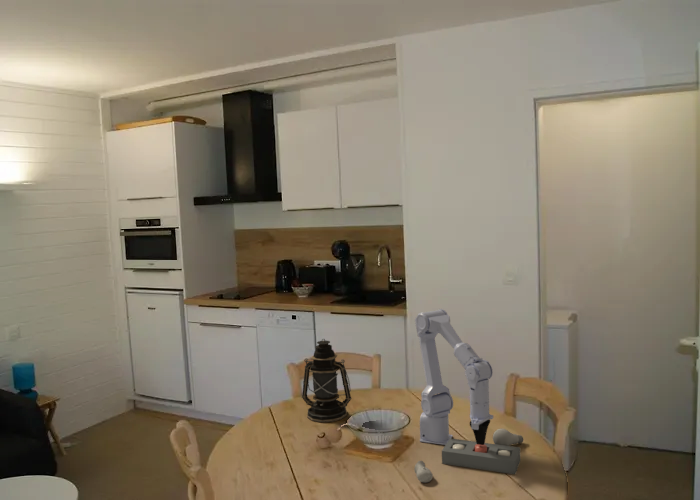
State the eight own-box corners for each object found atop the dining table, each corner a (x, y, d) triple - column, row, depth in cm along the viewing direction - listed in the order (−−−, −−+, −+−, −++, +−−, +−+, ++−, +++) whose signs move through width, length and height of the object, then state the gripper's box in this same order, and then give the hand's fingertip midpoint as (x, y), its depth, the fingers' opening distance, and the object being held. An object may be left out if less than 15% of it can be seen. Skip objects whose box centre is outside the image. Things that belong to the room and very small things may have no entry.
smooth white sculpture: (432, 488, 165) (415, 484, 165) (428, 474, 173) (411, 470, 172) (436, 474, 164) (419, 470, 164) (432, 461, 172) (415, 457, 172)
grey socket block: (442, 463, 177) (441, 450, 177) (450, 450, 186) (450, 438, 186) (515, 474, 168) (515, 461, 168) (520, 460, 177) (520, 447, 177)
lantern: (295, 421, 218) (291, 343, 215) (308, 406, 233) (304, 333, 231) (347, 424, 213) (343, 344, 210) (357, 408, 228) (353, 334, 226)
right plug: (497, 466, 173) (497, 454, 173) (499, 461, 177) (499, 449, 176) (509, 467, 172) (509, 455, 171) (511, 462, 175) (511, 451, 175)
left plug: (451, 459, 179) (451, 448, 179) (454, 454, 182) (454, 443, 182) (463, 461, 178) (462, 449, 177) (465, 456, 181) (465, 444, 181)
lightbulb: (530, 436, 186) (502, 435, 182) (525, 453, 187) (496, 451, 183) (520, 426, 191) (492, 424, 188) (515, 442, 193) (487, 440, 189)
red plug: (474, 459, 176) (473, 447, 176) (476, 454, 179) (476, 443, 179) (485, 461, 175) (485, 449, 174) (488, 456, 178) (487, 444, 178)
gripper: (487, 410, 167) (489, 455, 168) (497, 394, 180) (498, 436, 182) (463, 407, 170) (465, 452, 171) (474, 392, 183) (475, 433, 185)
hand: (480, 443), depth 177 cm, fingers closed
